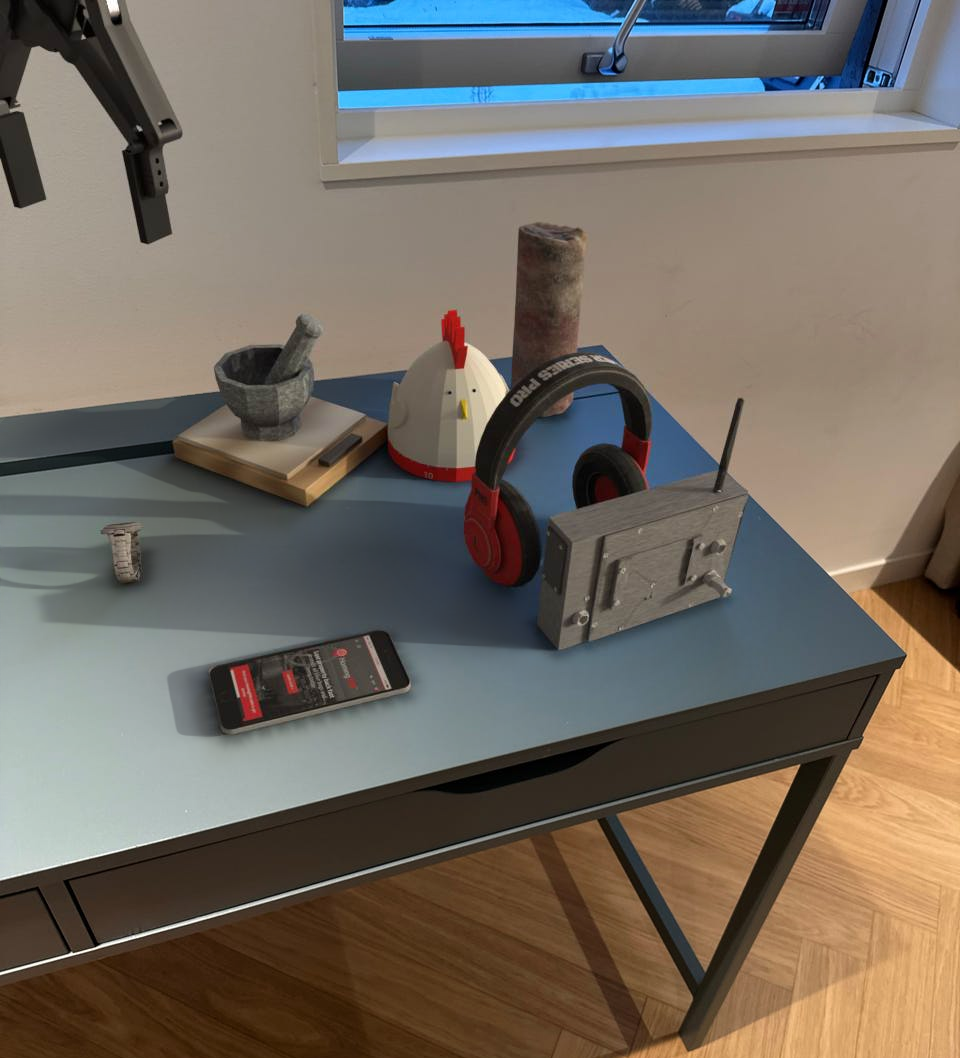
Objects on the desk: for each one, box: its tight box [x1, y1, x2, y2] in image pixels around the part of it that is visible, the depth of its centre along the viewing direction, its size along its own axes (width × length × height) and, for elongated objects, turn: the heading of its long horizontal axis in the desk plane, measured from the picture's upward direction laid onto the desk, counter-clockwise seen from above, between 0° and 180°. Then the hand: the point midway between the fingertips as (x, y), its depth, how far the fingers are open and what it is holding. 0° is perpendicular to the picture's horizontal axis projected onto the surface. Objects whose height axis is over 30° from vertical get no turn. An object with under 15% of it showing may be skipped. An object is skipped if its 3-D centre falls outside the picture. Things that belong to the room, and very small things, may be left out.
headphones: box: [462, 351, 653, 589], centre depth 82 cm, size 18×10×20 cm, turn 122°
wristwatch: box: [99, 521, 143, 584], centre depth 83 cm, size 4×6×5 cm, turn 12°
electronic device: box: [536, 397, 749, 651], centre depth 76 cm, size 17×7×20 cm, turn 117°
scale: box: [172, 395, 388, 507], centre depth 100 cm, size 17×15×3 cm
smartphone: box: [208, 629, 412, 735], centre depth 75 cm, size 7×1×15 cm
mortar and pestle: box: [213, 313, 325, 441], centre depth 95 cm, size 11×9×12 cm
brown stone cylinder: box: [510, 221, 588, 418], centre depth 103 cm, size 8×7×20 cm
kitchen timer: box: [387, 309, 516, 483], centre depth 97 cm, size 14×14×15 cm
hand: (91, 220), depth 75 cm, fingers open, 13 cm apart
